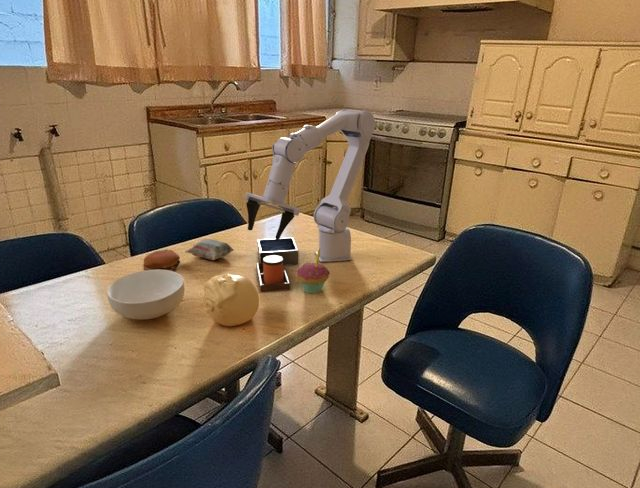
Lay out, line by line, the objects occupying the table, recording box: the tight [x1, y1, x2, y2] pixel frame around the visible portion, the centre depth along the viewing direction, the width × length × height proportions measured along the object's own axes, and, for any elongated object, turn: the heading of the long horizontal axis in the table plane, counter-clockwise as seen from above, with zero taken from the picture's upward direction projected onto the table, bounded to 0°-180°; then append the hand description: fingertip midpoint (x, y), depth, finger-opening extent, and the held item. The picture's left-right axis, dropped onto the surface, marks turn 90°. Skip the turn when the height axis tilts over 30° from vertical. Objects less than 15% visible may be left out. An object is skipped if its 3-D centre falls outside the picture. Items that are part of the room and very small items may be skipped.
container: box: [263, 255, 284, 284], centre depth 119 cm, size 5×5×7 cm
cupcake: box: [295, 248, 331, 294], centre depth 116 cm, size 9×8×12 cm
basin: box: [257, 236, 299, 266], centre depth 136 cm, size 11×11×4 cm
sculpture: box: [203, 272, 260, 327], centre depth 102 cm, size 12×12×11 cm
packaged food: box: [184, 238, 235, 261], centre depth 137 cm, size 9×12×5 cm
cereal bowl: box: [106, 270, 186, 320], centre depth 105 cm, size 17×17×7 cm
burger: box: [143, 249, 181, 271], centre depth 128 cm, size 10×9×5 cm
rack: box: [256, 262, 291, 293], centre depth 123 cm, size 8×14×2 cm, turn 12°
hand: (263, 234), depth 119 cm, fingers open, 7 cm apart
